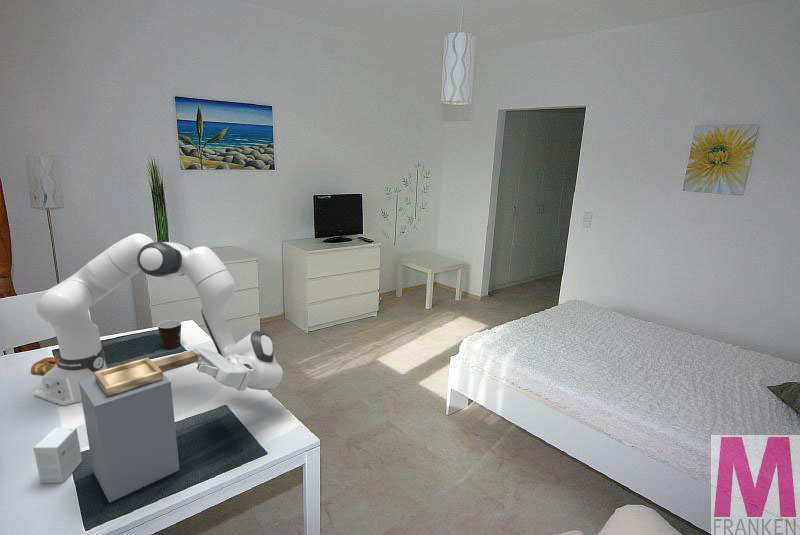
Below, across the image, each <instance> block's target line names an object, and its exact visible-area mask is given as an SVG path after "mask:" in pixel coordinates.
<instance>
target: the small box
mask: <svg viewBox="0 0 800 535" xmlns="http://www.w3.org/2000/svg"><path fill="white" fill-rule="evenodd" d="M33 452H34V457H35V462H36V466H37V472H38V477H39V482H40V483H41V484H60V483H61V484H62V483H65V481H66V480H67V479H69V477H70V476H71V475H72V473H74V471H75V470H76V469H77V468H78V467H79V465H80V464H81V463H82V462H83V458H82V452H81V445H80V440H79V435H78V428H77V427H53V429H52V430H50V431H49V432H48V433H47V434H46V435H45V436H44V437H43V438H42V439H41V440H39V442H38V443H37V444H36V445H35V446H33Z"/></svg>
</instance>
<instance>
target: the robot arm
mask: <svg viewBox="0 0 800 535" xmlns="http://www.w3.org/2000/svg"><path fill="white" fill-rule="evenodd" d="M141 271H142V273H144V274H147V275H148V276H152V277H157V278H160V277H161V278H162V277H163V278H173V277H180V276H186V277H187V278H188V279H189V280H190V282H191V283H192V285H193V287H194V288H195V290H196V292H197V294H198V297H199V301H200V305H201V316H202V319H203V322H204V324H205V326H206V328H207V331H208V333H209V336H210V338H211V340H212V342H213V345H214V346H215V350H216V351H214V350H210V349H207V348H203V347H199V346H195V347H194V348H193V351H194V352H195V353H196V354H197V355H198V362H195V364H197V366H196V370H197V371H198V372H199V373H204V374H206V375H208V376H211V377H212V378H213V379H215V380H216V382H218V383H219V384H221V385H223V386H224V387H225V386H226V387H231V388H233V389H236V390H237V391H238V392H239V391H240V392H245V390H246V389H247V388H249V389H252V390H257V391H258V390H259V391H271V390H273V389H275V388H276V387H278V385H279V384H280V382H281V381H282V378H283V375H284V373H283V372H284V370H283V368H282V366H281V365H280V364H279V363H278V361H277V359H276V356H275V344H274V340H273V339H272V337H271V336H270V335H269V334H267V333H266V332H264V331H261V330H254V331H253V332H251V333H249V334H248V335H246V336H245V337H243V338H242V339H241V340H239V341H238V342H236V340H234V338H233V335H232V333H231V330H230V328H229V327H228V324H227V320H226V313H227V310H228V307H229V306H230V304H231V302H232V301H233V299H234V297H235V294H236V288H237V286H236V283H235V280H234V278H233V277H232V275H231V272H229V270H228V269H227V267H226V265H225V264H224V263H223V261H222V260H221V259H220V257H218V255H217V254H216V253H215V252H214V251H213V250H212V249H211V248H210V247H208V246H203V245H202V246H196V247H194V248H192V247H190V246H189V245H187V244H183V243H178V242H173V241H163V242H162V241H154V240H153V239H152V238H151V237H150V236H148V235H146V234H144V233H140V232H139V233H138V232H137V233H132V234H131V235H129V236H126V237H124V238H123V239H120V240H119V241H117V242H116V243H114V244H112V245H111V246H109V247H108V248H107V249H105V250H104V251H102V252H101V253H100V254H98V255H97V256H95V257H94V258H93V259H91V260H89V262H87V263H86V264H85V265H83V267H81V268H80V269H79V270H77V271H76V272H75V273H74V274H72V275H70V276H69V277H68V278H67V277H66V279H64V280H63V281H60V282H59V283H58V284H56V285H54V286H53V287H51V288H49V289H47V290H46V291H45V292H44V293H43V294H42V295H41V297H40V298H39V300H38V301H37V303H36V312H37V314H38V315H39V317H40V318H41V319H42V320H44V321H45V322H48V323H49V324H50V325H51V326H52V328H53V330H54V332H55V335H56V338H57V343H58V347H59V354H57V355H58V356H57V355H55V356H56V357H57V358H55V356H54V358H55V359H54V360H57V359H58V363H57V365H56V366H55V367H53V368H52V369H51V370H49V371H48V372H47V373H46V374H45V375H42V377H41V378H42V379H41V386H39V387H37V388H36V389H35V390H34V392H33V396H35V397H37V398H40V399H43V400H45V401H48V402H51V403H54V404H56V403H57V404H56V405H59V406H68V405H72V404H75V403H79V402H80V403H81V402H82V399H81V393H80V386H79V382H80V381H84V380H87V379H91V378H94V377H95V374H94V372H98V371H101V370H105V369H108V367H107V363H106V360H105V351H104V347H102V341H101V334H100V328H99V326H98V325H97V324H95V323H93V321H92V319H91V317H90V314H89V311H90V310H89V308H91V307H92V306H94V305H95V304H96V303H97V302H99V300H102V299H103V298H104V297H105V296H107V295H108V294H110V293H111V292H112V291H114V290H116V289H117V288H118V287H120V286H121V285H123V284H124V283H125V282H127V281H128V280H130V279H132V277H134V276H135V275H136V274H138V273H140V272H141ZM185 352H188V351H187V350H185V351H183V353H185Z"/></svg>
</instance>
